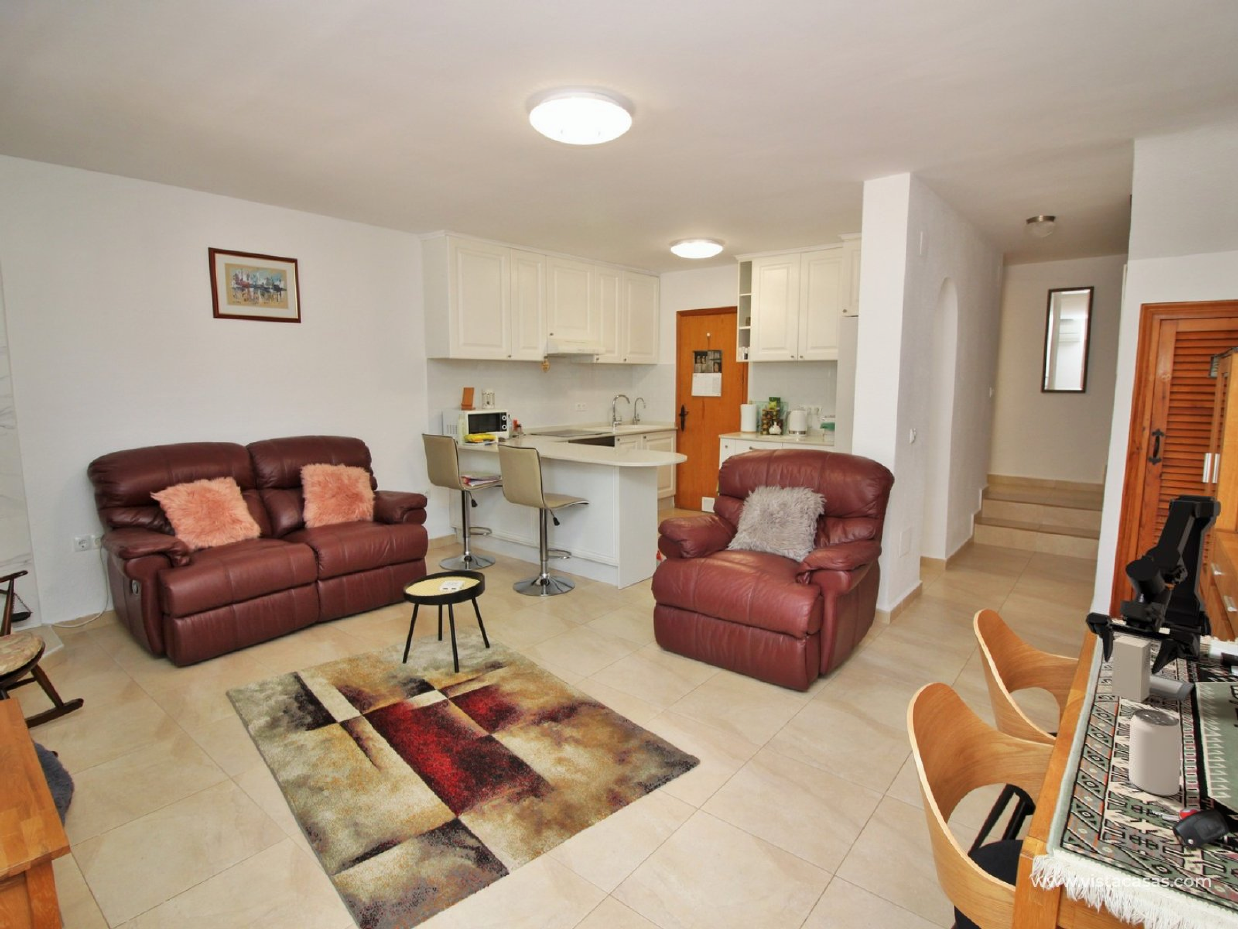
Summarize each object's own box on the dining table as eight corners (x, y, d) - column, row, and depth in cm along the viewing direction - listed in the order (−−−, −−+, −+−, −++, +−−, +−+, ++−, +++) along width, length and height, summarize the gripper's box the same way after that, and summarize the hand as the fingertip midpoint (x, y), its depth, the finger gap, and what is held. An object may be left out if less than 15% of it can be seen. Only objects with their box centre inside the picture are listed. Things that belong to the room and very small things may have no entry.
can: (1159, 774, 109) (1162, 707, 107) (1189, 798, 102) (1192, 727, 101) (1119, 774, 109) (1121, 707, 108) (1146, 797, 103) (1148, 726, 102)
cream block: (1120, 687, 140) (1122, 635, 139) (1149, 695, 136) (1150, 641, 135) (1111, 694, 137) (1113, 640, 136) (1140, 702, 133) (1142, 647, 132)
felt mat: (1136, 672, 147) (1136, 669, 147) (1193, 686, 139) (1193, 683, 139) (1124, 686, 141) (1124, 683, 141) (1183, 701, 133) (1183, 698, 133)
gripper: (1089, 577, 144) (1067, 635, 139) (1197, 595, 129) (1176, 662, 124) (1103, 603, 149) (1082, 661, 144) (1208, 624, 134) (1188, 689, 129)
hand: (1128, 667), depth 135 cm, fingers open, 8 cm apart
